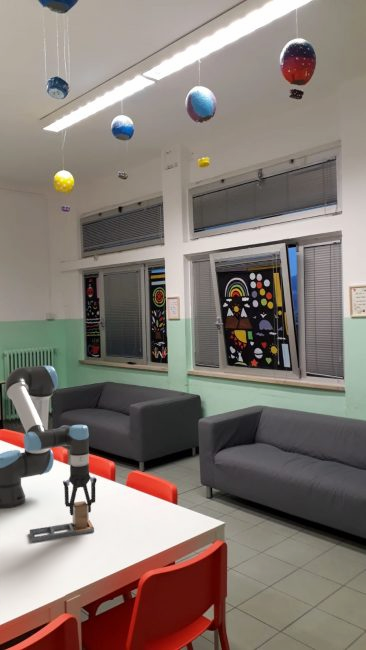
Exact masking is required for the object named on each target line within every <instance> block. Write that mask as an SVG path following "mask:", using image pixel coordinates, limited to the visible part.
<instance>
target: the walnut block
mask: <svg viewBox="0 0 366 650" xmlns="http://www.w3.org/2000/svg"><path fill="white" fill-rule="evenodd" d="M86 503H87V501H85V500H82V501H74V506H75V520H76V524H74V528H73V529H74V530H75V529H81V528H87V527H88V526H87V504H86Z"/></svg>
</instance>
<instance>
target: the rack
mask: <svg viewBox="0 0 366 650" xmlns="http://www.w3.org/2000/svg"><path fill="white" fill-rule="evenodd" d="M94 527H95V526H94V525H93V524H92V522H91V521H90V519H89V522H87V528H81V529H75V528H74V523H73V521H72V522H70V523H64V524H58V525H57V524H56V525H52V526H51V525H50V526H45V527H39V528H31V529H29V537H30V540H31V543H37V542H43V541H48V540H53V539H54V540H55V539H61V538H67V537H72V536H77V535H84V534H88V533H94V532H95V528H94ZM66 529H69V530H67V531H63V530H66ZM61 530H62V531H61ZM55 531H59V532H55ZM60 531H61V532H60ZM49 532H50V533H49ZM42 533H43V535H38V536H35V535H37V534H42ZM44 533H49V534H44Z"/></svg>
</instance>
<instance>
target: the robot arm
mask: <svg viewBox="0 0 366 650" xmlns="http://www.w3.org/2000/svg"><path fill="white" fill-rule="evenodd" d="M58 378H59V377H58V374H57V371H56V369H55V368H54V366H52V365H35V366H34V365H33V366H20V367H18V368H15V369H14V370H12V371H11V372H10V373H9V375H8V376H7V378H6V380H5V385H4V390H5V393H6V396H7V398H9V399H10V400H11V401H12V403H13V406H14V408H15V410H16V413H17V415H18V417H19V419H20V422H21V424H22V427H23V429H24V431H25V433H24V435H23V446H24V452H21V451H20V450H18V449H13V450H7V451H4V452H1V453H0V509H9V508H14V507H18V506H20V505H23V504H24V503H26V494H25V491H24V489H23V486H22V479H24V478H28V477H29V478H30V477H34V476H41V475H44V474H47V473H49V472H50V471H51V470H52V469H53V466H54V462H55V461H54V452H53V450H52V448H59V447H66V446H67V447H69V463H70V465H69V467H70V468H69V478H68V479H67V480H63V481H62V483H63V484H62V485H63V488H64V505H65V507H66V508H69V514H70V516H72V522H73V523H74V524H76V520H75V506H74V503H75V502H76V501H75V500H76V497H77V492H78V489H79V488H83V492H84V496H85V500H86V504H87V522H89V520H90V519H89V513H91V512H92V504H93V503H96V484H97V482H98V481H97V477H95V476H91V475H90V464H89V462H90V457H89V455H90V454H89V453H90V449H89V444H90V441H89V440H90V439H89V438H90V437H89V436H90V434H89V427H88V426H87V425H86V424H74V425H61V426H60V427H58V428H53V429H52V428H51V429H49V428H48V425H49V409H50V398H51V397H52V396H53V395H54V391H55V390H57V389H58V386H59V379H58ZM89 482H90V488H91V489H90V490H91V491H90V495H91V496H90V495H89V489H88V485H87V484H89ZM70 484H72V491H71V495H69V491H70V490H69V486H70ZM69 497H70V498H69Z"/></svg>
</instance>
